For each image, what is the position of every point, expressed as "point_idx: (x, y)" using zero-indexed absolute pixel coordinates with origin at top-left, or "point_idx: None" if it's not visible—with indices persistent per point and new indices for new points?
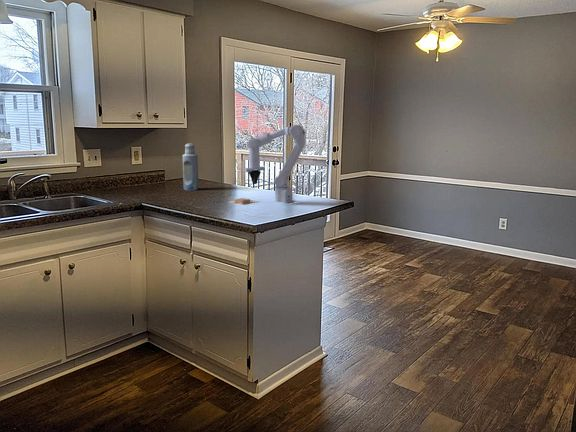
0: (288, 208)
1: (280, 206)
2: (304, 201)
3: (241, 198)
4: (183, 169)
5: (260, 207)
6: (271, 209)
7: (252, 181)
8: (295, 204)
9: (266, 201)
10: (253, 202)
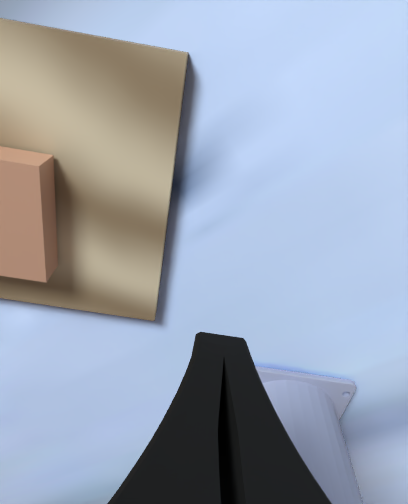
0: (109, 496)
1: (133, 453)
2: (384, 487)
3: (7, 174)
4: None
5: (9, 386)
6: (14, 453)
7: (187, 371)
8: None
9: (263, 308)
10: (76, 290)
